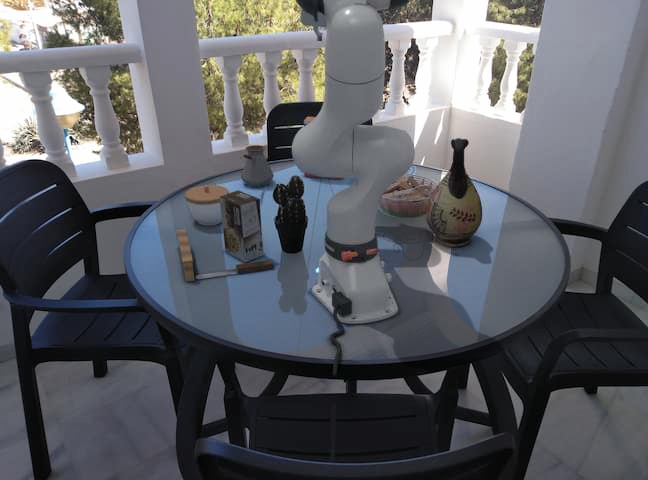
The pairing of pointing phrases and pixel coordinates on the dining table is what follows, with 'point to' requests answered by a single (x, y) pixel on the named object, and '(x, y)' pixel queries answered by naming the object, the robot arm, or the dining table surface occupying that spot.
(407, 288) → the dining table surface
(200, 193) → the lidded bowl
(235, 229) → the coffee box
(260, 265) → the table knife
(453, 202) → the ceramic jug
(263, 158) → the coffee pot
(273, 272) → the dining table surface
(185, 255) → the oak rail
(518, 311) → the dining table surface
